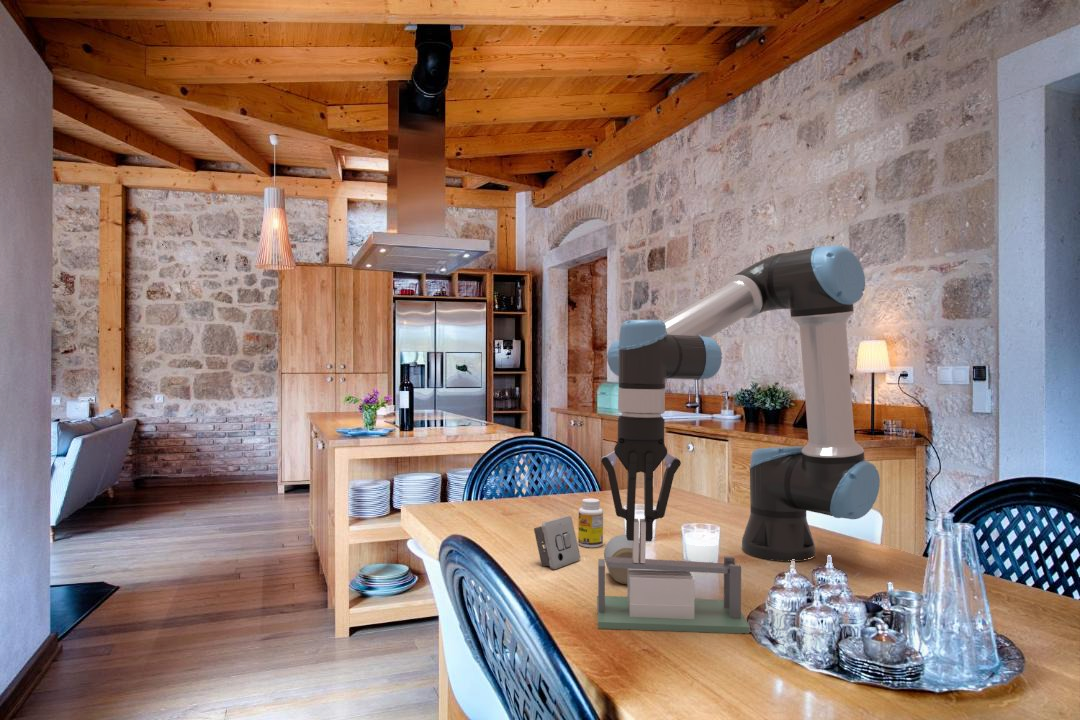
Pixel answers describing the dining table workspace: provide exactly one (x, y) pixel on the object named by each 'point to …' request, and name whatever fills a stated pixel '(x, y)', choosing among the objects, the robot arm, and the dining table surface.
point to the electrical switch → (557, 542)
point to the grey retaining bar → (670, 565)
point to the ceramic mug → (619, 556)
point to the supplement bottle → (590, 524)
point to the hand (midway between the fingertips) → (638, 560)
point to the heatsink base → (671, 603)
